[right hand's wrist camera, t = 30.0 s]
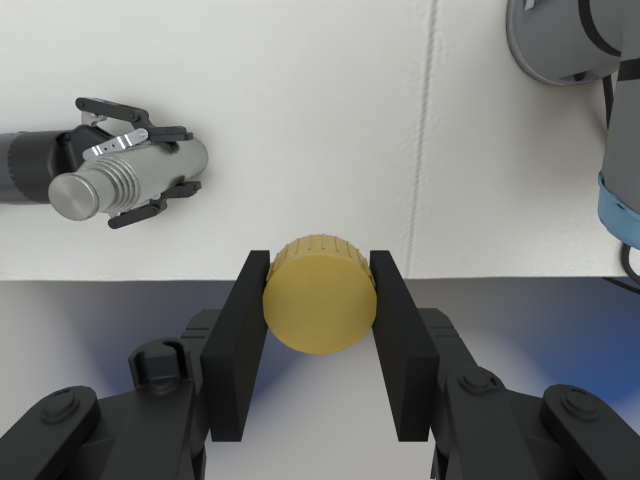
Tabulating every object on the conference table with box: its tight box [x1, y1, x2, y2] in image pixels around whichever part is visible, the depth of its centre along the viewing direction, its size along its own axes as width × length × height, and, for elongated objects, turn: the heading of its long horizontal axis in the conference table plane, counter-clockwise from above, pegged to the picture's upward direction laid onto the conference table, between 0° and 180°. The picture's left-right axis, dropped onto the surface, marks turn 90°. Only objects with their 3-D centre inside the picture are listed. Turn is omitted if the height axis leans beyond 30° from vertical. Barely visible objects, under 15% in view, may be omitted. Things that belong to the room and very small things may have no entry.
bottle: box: [48, 138, 208, 221], centre depth 33 cm, size 4×4×22 cm
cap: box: [263, 234, 377, 354], centre depth 14 cm, size 4×4×2 cm
